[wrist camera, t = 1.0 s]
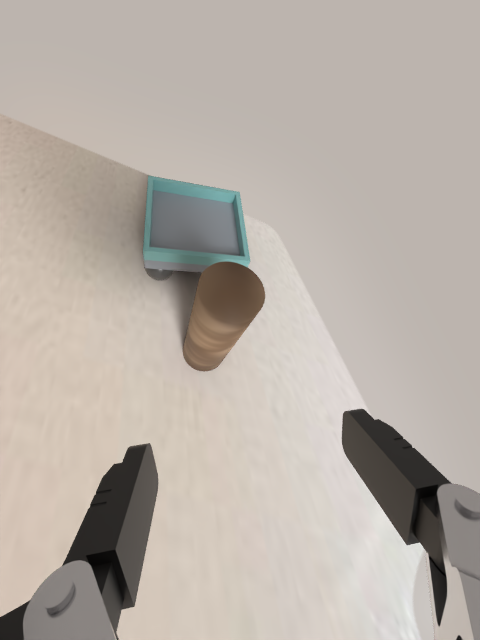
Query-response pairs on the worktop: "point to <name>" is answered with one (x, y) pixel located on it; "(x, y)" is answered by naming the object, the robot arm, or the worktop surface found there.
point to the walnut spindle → (221, 313)
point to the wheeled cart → (191, 228)
